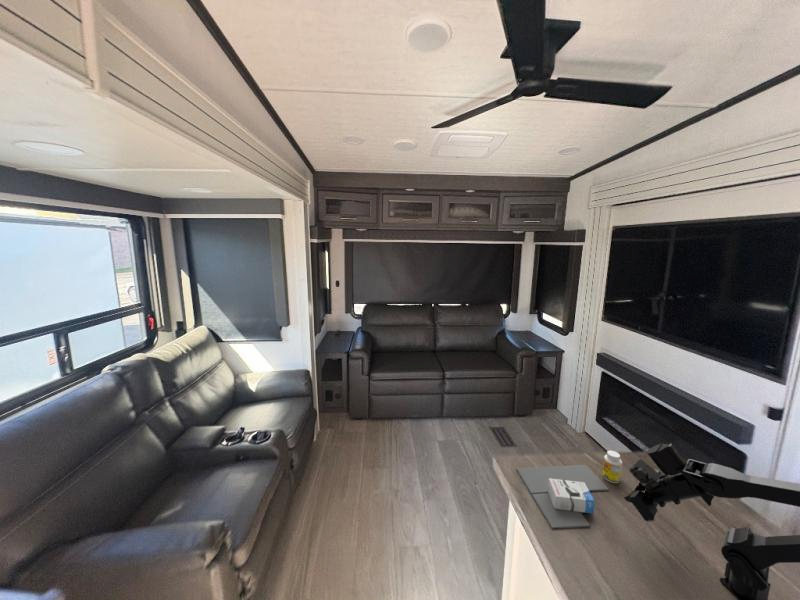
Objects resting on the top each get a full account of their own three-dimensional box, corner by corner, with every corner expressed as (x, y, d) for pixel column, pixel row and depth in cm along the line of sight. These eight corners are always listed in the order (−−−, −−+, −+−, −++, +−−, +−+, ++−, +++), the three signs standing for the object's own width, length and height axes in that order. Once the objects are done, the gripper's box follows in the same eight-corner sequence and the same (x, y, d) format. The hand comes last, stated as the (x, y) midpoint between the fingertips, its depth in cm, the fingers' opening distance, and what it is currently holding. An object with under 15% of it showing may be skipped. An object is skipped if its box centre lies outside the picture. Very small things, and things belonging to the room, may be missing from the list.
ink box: (595, 501, 97) (555, 496, 99) (593, 514, 98) (554, 509, 100) (584, 481, 105) (548, 477, 107) (583, 493, 106) (547, 489, 108)
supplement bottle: (600, 471, 117) (602, 447, 116) (617, 475, 116) (620, 450, 114) (604, 482, 112) (606, 456, 111) (622, 485, 110) (625, 460, 109)
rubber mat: (639, 524, 95) (640, 522, 95) (551, 528, 94) (552, 527, 94) (585, 466, 121) (586, 464, 121) (516, 469, 119) (516, 467, 119)
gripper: (661, 445, 93) (616, 459, 104) (642, 473, 82) (593, 485, 92) (693, 483, 88) (642, 494, 99) (677, 518, 77) (622, 526, 87)
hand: (625, 498), depth 94 cm, fingers closed
